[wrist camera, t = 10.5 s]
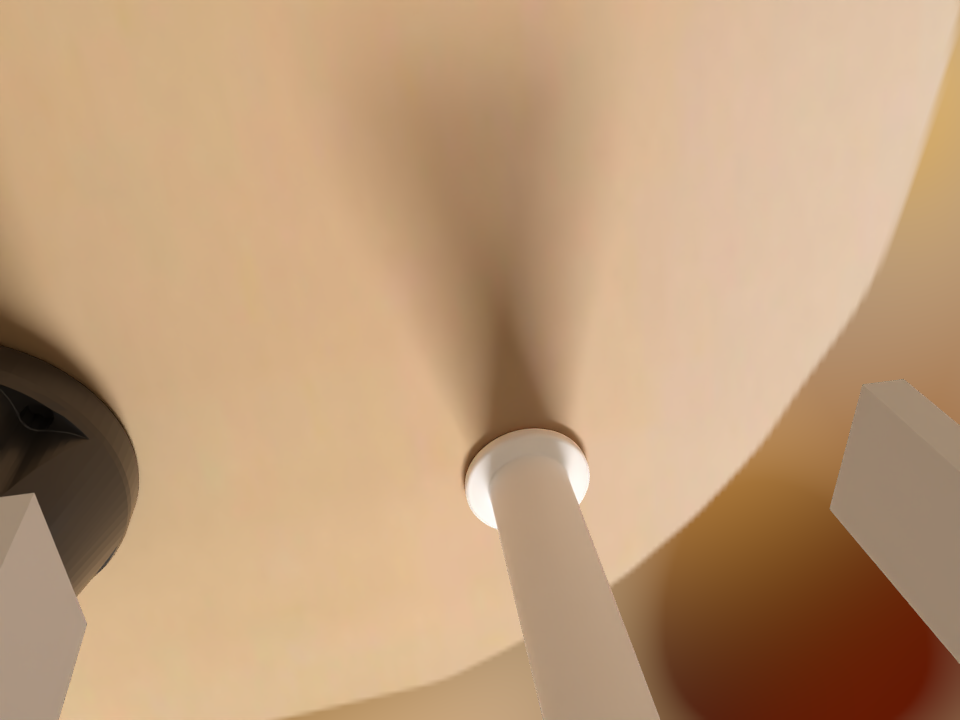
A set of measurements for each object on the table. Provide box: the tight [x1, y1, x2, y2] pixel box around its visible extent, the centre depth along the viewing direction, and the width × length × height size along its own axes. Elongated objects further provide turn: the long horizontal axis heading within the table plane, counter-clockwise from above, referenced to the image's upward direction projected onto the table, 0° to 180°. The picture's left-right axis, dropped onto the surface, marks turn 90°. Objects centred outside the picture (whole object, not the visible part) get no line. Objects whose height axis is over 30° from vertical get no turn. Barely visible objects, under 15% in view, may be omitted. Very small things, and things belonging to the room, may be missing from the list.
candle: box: [465, 428, 660, 720], centre depth 35 cm, size 7×7×25 cm
